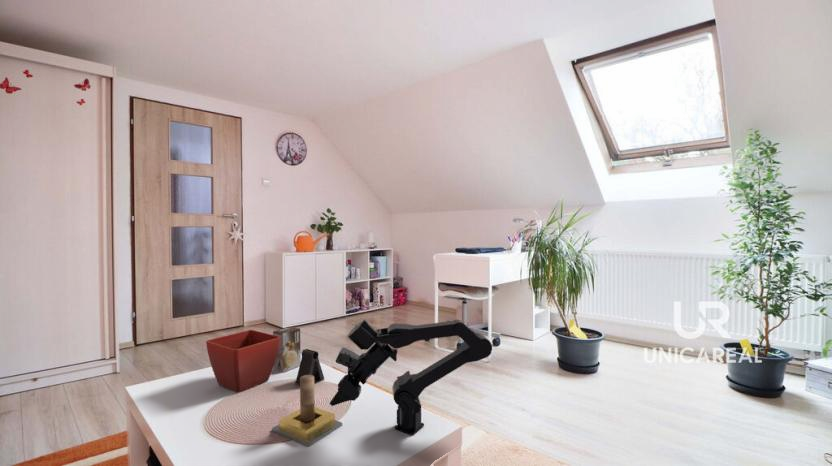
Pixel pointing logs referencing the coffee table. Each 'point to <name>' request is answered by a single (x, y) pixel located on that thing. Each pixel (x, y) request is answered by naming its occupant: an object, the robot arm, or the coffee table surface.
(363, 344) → the robot arm
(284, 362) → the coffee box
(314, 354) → the phone stand
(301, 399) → the pin
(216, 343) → the plant pot
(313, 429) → the socket
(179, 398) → the coffee table surface
